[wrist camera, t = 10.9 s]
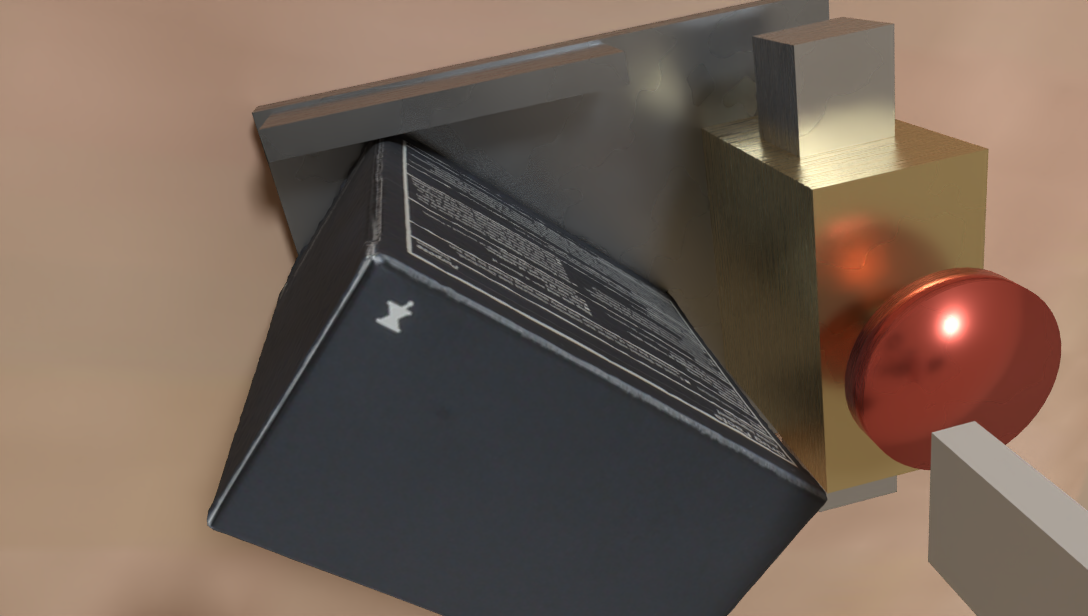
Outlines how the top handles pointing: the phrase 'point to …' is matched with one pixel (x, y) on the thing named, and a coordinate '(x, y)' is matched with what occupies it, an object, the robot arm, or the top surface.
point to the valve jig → (739, 215)
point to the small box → (498, 417)
